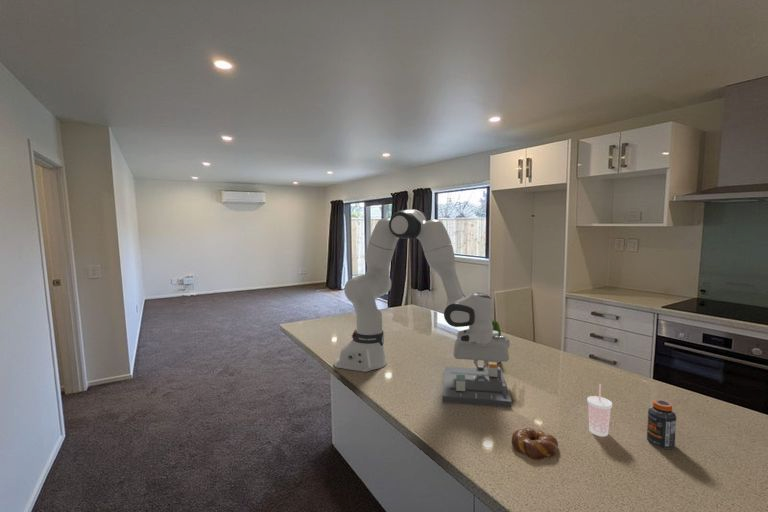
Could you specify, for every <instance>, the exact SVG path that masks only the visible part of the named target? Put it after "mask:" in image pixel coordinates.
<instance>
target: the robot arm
mask: <svg viewBox="0 0 768 512" xmlns="http://www.w3.org/2000/svg"><path fill="white" fill-rule="evenodd" d="M400 239H403V240H406V239H408V240H409V239H411V240H416V239H417V240H419V242H420V244H421V247H422V250H423V255H424V257H425V260H426V261H427V264H428V266H429V268H430V269H431V270H432V271H433V272H435V273H436V274H437V275H438V276H439V277H440V280H441V282H442V285H443V287H444V291H445V294H446V299H447V301H446V306H445V309H444V312H443V317H444V320H445V322H446V323H447V324H448V325H449V326H451V327H453V328H462V327H468V328H467V329H463V330H460V331H457V333H456V334H457V335H456V337H457V338H456V339H455V341H454V345H453V346H454V348H453V357H454V359H456V360H466V361H467V360H469V361H470V360H471V361H473V364H474V365H475V367H476V369H477V371H482V372H485V369H486V367H487V365H488V361H499V362H498V363H500V362H501V363H503V362H504V363H507V362H508V361H509V358H510V356H509V348H510V346H511V345H510V344H511V341H510V339H509V338H508V337H506V336H504V335H503V336H502V335H501V337H499V336H493V325H492V321H494V303H493V298H492V297H491V296H490V295H488V294H486V293H484V292H478V291H477V292H476V291H474V292H471V294H469V295H466V296H465V294H464V293H463V290H462V288H461V284H460V281H459V278H458V275H457V271H456V269H457V268H456V257H455V251H454V247H453V244H452V241H451V238H450V236H449V232H448V231H447V228H446V227H445V224H444V223H443V222H442V221H441V220H439V219H430V220H428V216H427V215H426V213H425V212H424V211H422V210H419V209H417V208H415V209H413V208H408V209H402V210H399V211H396V212H395V213H394V214H392V215H391V217H390V218H387V217H383V218H380V219H379V220H378V221H377V222H376V224H375V225H374V228H373V229H372V233H371V235H370V238H369V240H368V241H369V242H368V244H367V247H366V251H365V254H364V262H365V263H366V266H367V268H366V271H365V274H360V275H357V276H354V277H352V278H350V279H349V280H347V281H346V283H345V285H344V294H345V297H346V299H347V300H348V301H350V302H351V304H352V306H353V309H354V312H355V316H356V317H355V318H356V319H355V320H356V328H355V329H354V330H353V332H352V334H351V338H352V339H351V340H350V341H348V343H346V344H345V345H344V346H342V349H340V353H339V356H338V357H337V358H336V359H335V360H334V364H333V365H334V367H335V368H339V369H344V370H350V371H357V372H364V373H366V372H367V373H368V372H370V371H373V370H377V369H382V368H383V367H385V366H386V365H387V363H388V362H387V358H386V355H385V350H384V349H385V348H384V343H385V335H384V330H383V313H382V311H381V310H380V309H379V308H378V307H377V304H376V303H377V302H376V299H377V298H381V297H383V296H384V295H386V294H387V293H388V292H390V290H391V289H392V279H391V278H390V268H391V267H390V266H391V263H392V259H393V256H394V254H395V249H396V246H397V244H398V241H399V240H400ZM478 361H483V364H482V365H479V364H478Z"/></svg>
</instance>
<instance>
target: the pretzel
mask: <svg viewBox="0 0 768 512" xmlns="http://www.w3.org/2000/svg"><path fill="white" fill-rule="evenodd" d="M511 444H512V445H511V446H512V447H513V449H514V450H515V451H516V452H518V453H520V454H522V455H525V456H527V457H528V458H530V459H533V460H542V459H544V458H545V457H546V458H549V457H550V456H554V455H556V453H557V449H558V447H559V442H558V440H557V438H555V436H554V435H552V434H549V433H548V434H547V433H545V432H544V431H543V430H539V429H538V430H536V429H533V428H529V427H527V428H523V429H522V428H521V429H517V430H515V431H514V432H513V433H512V436H511Z"/></svg>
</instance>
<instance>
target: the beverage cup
mask: <svg viewBox="0 0 768 512" xmlns="http://www.w3.org/2000/svg"><path fill="white" fill-rule="evenodd" d="M601 393H602V383H598V396H597V395H591V396H587V398H586V399H587V400H586V401H587V402H586V403H587V406H588V407H587V408H588V411H587V412H588V431H589V432H590V433H591V434H593V435H596V436H598V437H607V436H608V435H609V427H610V419H611V412H612V411H611V410H612V408H613V402H612V401H611V400H609V399H608V398H605V397H603V396H602V394H601Z"/></svg>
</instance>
